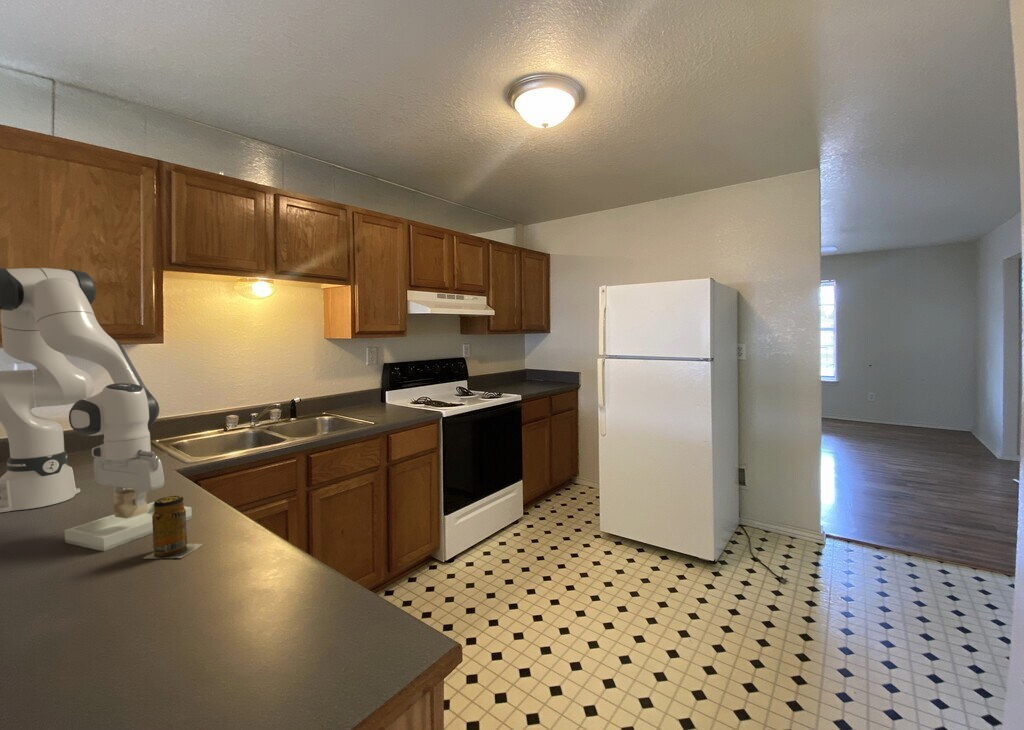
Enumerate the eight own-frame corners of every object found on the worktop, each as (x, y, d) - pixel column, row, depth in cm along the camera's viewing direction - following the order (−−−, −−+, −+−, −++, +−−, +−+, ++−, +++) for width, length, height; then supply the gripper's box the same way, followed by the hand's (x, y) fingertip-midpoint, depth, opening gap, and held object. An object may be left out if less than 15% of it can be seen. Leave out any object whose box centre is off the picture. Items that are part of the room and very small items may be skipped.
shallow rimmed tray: (65, 542, 108) (64, 530, 107) (155, 512, 126) (154, 501, 126) (104, 551, 103) (103, 538, 103) (192, 518, 122) (191, 507, 122)
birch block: (114, 516, 113) (113, 492, 113) (135, 510, 117) (133, 487, 117) (127, 518, 111) (125, 494, 111) (147, 512, 116) (145, 488, 115)
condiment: (167, 544, 107) (165, 493, 106) (204, 544, 106) (202, 493, 106) (142, 559, 99) (139, 505, 99) (181, 559, 99) (178, 505, 99)
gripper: (170, 449, 113) (173, 504, 114) (115, 443, 120) (118, 495, 120) (142, 455, 107) (145, 513, 108) (86, 449, 114) (89, 503, 115)
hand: (130, 504), depth 114 cm, fingers closed on birch block, 4 cm apart
